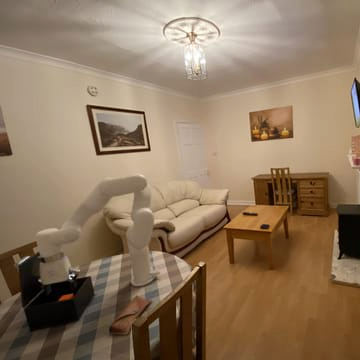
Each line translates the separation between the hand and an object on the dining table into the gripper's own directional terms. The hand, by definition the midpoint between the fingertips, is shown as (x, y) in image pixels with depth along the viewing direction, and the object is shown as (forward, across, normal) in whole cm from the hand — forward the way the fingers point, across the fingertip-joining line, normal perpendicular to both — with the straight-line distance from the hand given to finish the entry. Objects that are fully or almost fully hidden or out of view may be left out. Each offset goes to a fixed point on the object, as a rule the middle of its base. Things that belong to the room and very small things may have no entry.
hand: (61, 291), depth 95 cm
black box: (+10, 0, 0) cm, 11 cm away
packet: (+10, 0, 0) cm, 10 cm away
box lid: (-10, -7, 0) cm, 12 cm away
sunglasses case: (+11, +31, -13) cm, 36 cm away
